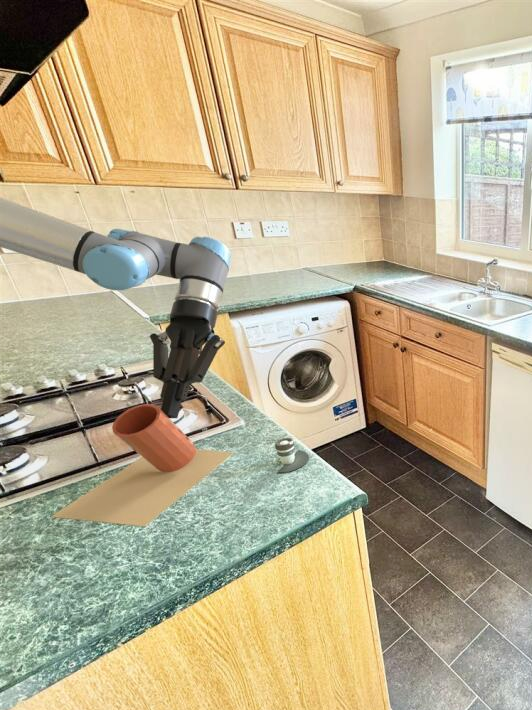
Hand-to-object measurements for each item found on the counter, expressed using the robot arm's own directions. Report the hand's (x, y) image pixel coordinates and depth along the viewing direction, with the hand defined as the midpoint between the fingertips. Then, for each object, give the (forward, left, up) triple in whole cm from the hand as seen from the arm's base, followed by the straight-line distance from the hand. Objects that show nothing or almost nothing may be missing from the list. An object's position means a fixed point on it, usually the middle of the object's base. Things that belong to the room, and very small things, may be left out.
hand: (168, 416), depth 79 cm
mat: (0, -7, -10) cm, 12 cm away
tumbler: (0, -1, -8) cm, 8 cm away
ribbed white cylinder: (+20, +3, -10) cm, 23 cm away
